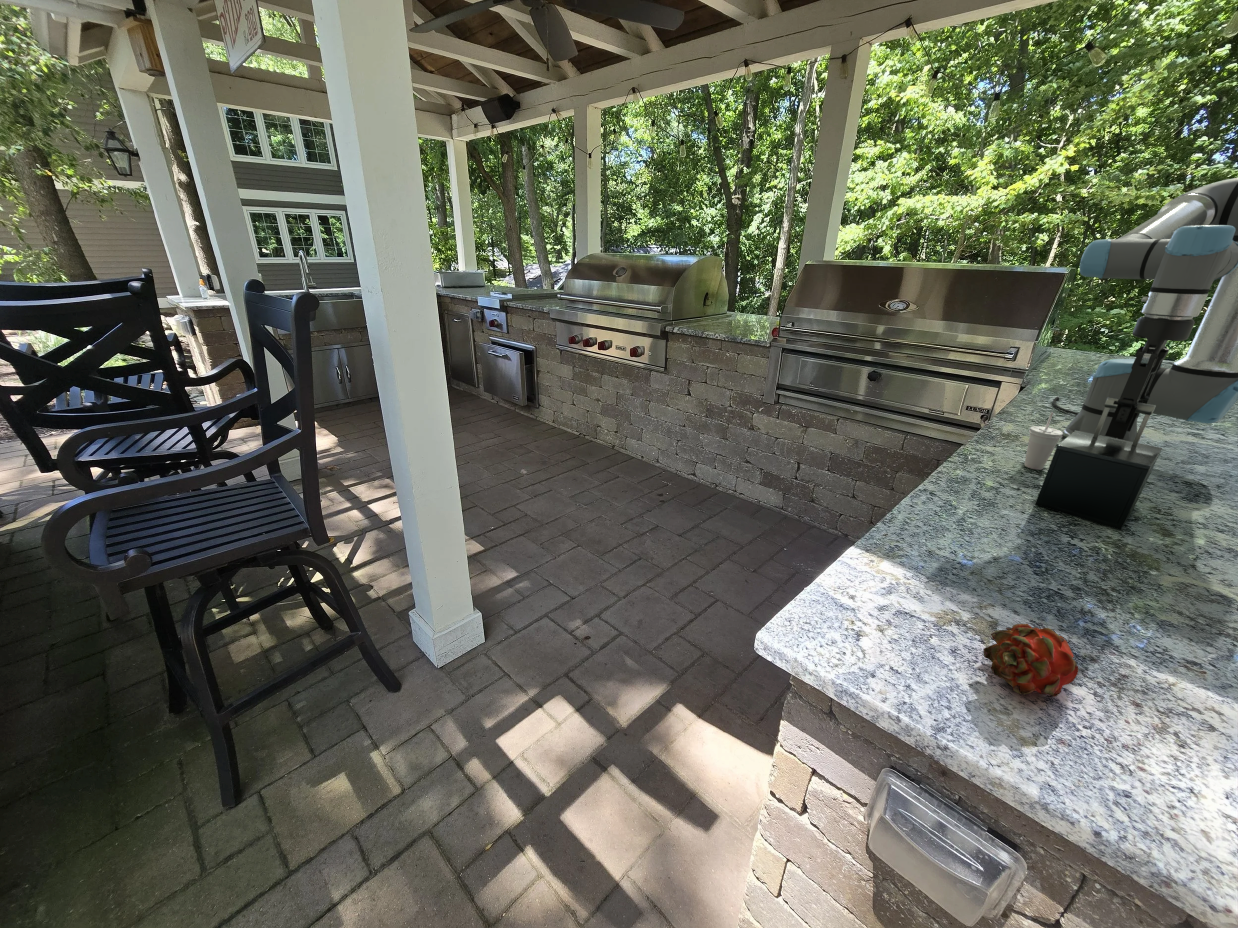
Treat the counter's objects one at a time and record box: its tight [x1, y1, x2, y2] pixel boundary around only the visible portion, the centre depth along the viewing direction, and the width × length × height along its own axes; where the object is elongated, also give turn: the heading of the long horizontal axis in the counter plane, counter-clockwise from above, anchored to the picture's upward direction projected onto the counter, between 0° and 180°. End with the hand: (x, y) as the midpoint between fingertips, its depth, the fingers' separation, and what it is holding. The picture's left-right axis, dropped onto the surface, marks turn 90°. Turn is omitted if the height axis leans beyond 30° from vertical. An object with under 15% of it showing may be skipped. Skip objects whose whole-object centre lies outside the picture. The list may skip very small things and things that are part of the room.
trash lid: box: [1055, 398, 1163, 470], centre depth 99 cm, size 14×14×9 cm
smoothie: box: [1023, 411, 1064, 471], centre depth 122 cm, size 6×6×14 cm
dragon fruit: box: [983, 623, 1079, 698], centre depth 62 cm, size 8×8×12 cm
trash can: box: [1034, 449, 1160, 531], centre depth 103 cm, size 14×14×13 cm
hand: (1117, 433), depth 102 cm, fingers open, 6 cm apart
